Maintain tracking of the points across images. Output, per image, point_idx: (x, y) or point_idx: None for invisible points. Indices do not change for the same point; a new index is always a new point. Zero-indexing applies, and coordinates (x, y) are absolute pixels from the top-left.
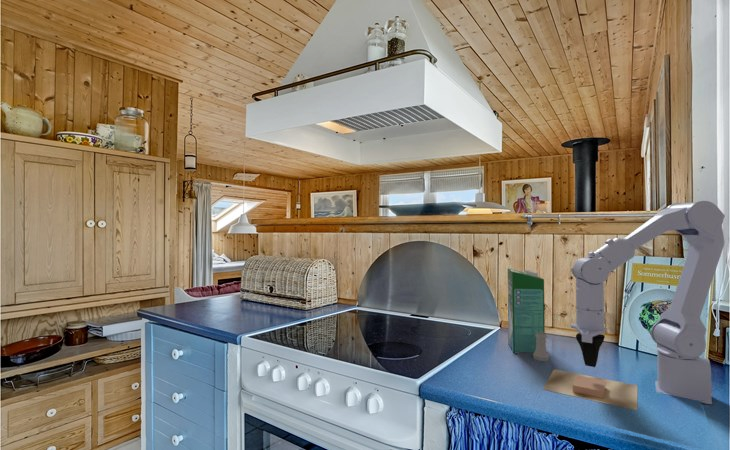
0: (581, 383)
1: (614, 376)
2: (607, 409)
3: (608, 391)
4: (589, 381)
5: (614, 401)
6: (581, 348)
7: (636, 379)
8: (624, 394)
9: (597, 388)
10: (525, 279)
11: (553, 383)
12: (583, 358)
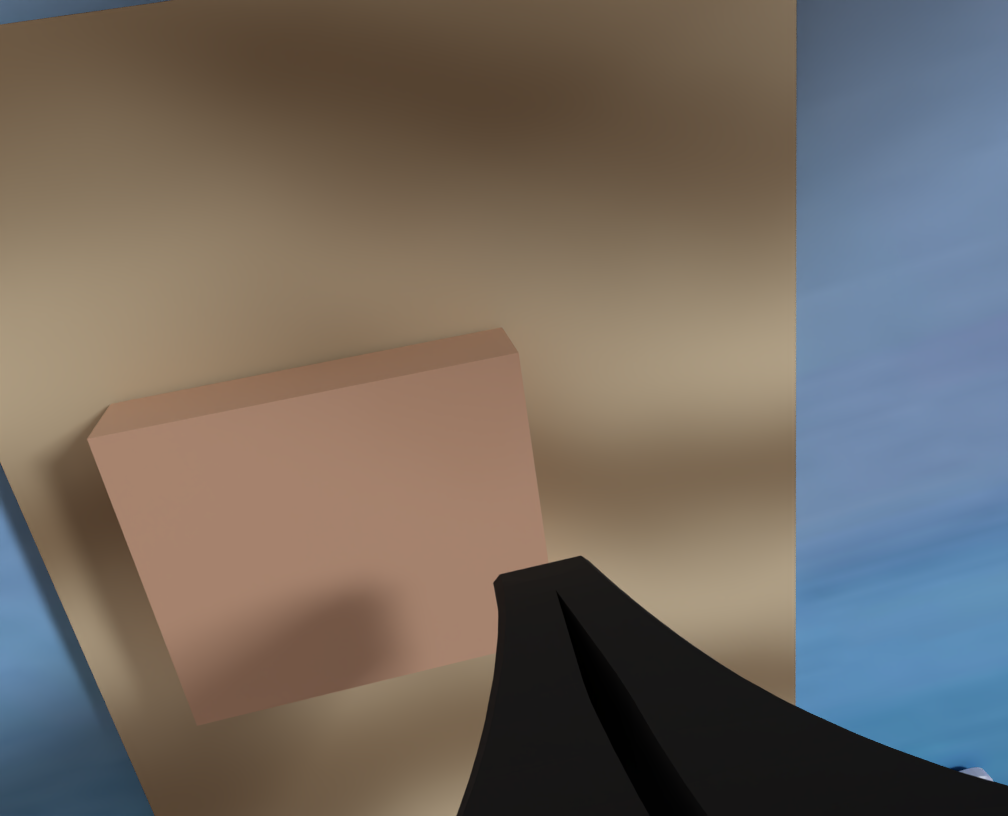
0: (252, 493)
1: (978, 512)
2: (54, 722)
3: None
4: (406, 531)
5: (233, 741)
6: (469, 792)
7: (992, 653)
8: None
9: (237, 661)
10: None
11: (201, 107)
12: (502, 627)
